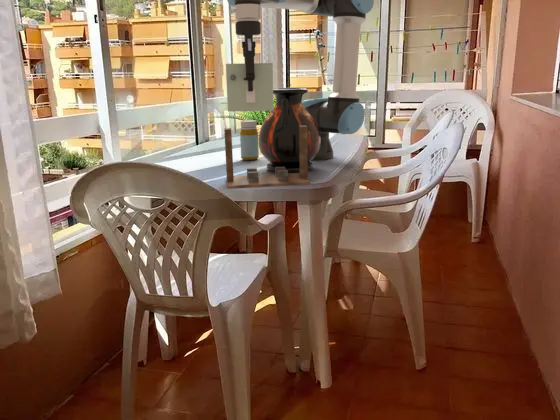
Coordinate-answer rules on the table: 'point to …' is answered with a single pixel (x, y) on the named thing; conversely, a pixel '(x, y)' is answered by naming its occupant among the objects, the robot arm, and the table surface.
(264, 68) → the beige flat panel
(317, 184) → the table surface
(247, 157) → the bottle
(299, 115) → the amphora vase
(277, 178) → the cabinet frame
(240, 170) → the table surface
